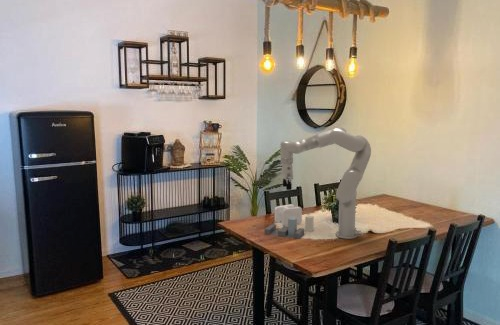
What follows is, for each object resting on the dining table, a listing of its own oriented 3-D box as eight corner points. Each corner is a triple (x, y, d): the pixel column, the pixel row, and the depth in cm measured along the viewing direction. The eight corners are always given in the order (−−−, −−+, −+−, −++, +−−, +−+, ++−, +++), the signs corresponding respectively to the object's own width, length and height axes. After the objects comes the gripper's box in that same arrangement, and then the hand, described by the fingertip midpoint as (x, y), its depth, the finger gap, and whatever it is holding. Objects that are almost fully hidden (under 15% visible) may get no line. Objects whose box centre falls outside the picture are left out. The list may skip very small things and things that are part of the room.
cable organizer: (282, 227, 249) (282, 210, 247) (274, 223, 258) (274, 206, 257) (302, 224, 256) (302, 206, 254) (293, 220, 265) (293, 203, 263)
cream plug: (313, 231, 240) (313, 216, 239) (311, 233, 237) (311, 217, 235) (307, 230, 242) (307, 215, 241) (305, 232, 239) (305, 217, 237)
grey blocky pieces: (305, 235, 234) (305, 228, 234) (300, 240, 225) (300, 234, 225) (270, 230, 244) (270, 224, 244) (263, 235, 236) (263, 228, 235)
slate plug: (296, 234, 234) (296, 218, 232) (294, 236, 230) (294, 219, 228) (290, 233, 235) (290, 217, 234) (288, 235, 232) (288, 219, 230)
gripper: (296, 162, 233) (296, 190, 236) (289, 158, 250) (289, 184, 253) (283, 163, 232) (284, 191, 235) (278, 159, 249) (278, 185, 252)
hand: (287, 188), depth 244 cm, fingers open, 9 cm apart
